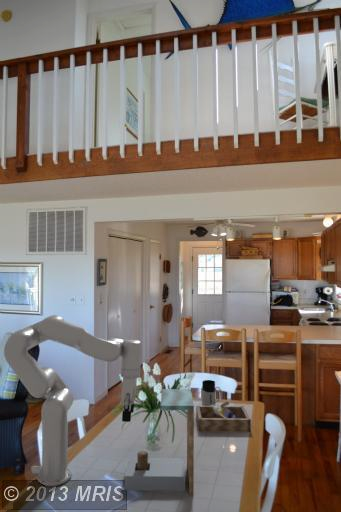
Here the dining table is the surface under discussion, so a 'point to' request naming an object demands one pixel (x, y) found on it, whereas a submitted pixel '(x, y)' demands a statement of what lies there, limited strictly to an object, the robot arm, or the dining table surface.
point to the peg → (142, 460)
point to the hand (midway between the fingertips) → (127, 416)
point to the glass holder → (209, 393)
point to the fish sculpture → (222, 411)
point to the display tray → (223, 420)
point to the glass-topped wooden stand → (184, 401)
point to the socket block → (156, 475)
